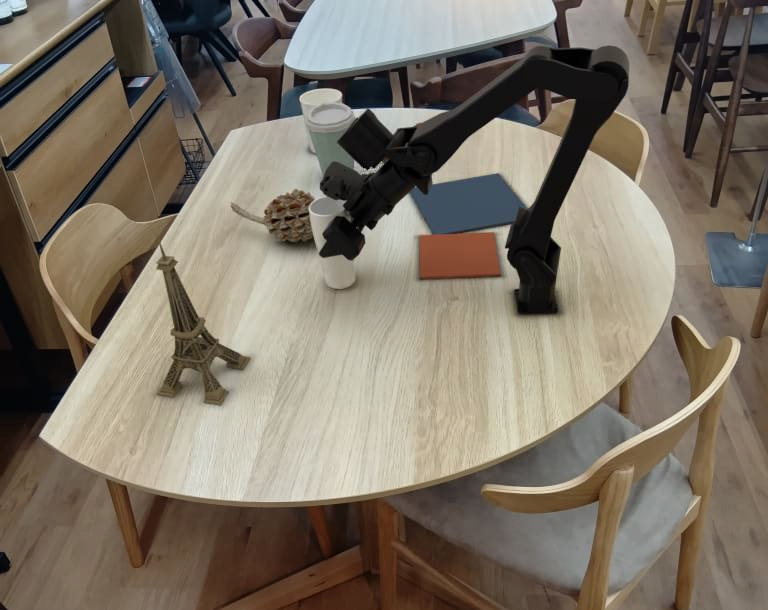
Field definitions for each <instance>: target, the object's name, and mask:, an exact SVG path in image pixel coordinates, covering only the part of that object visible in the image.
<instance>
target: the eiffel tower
mask: <svg viewBox="0 0 768 610" xmlns="http://www.w3.org/2000/svg"><path fill="white" fill-rule="evenodd" d="M155 235H156V238H157V241H158V245H159V249H160V253H161V256H160V258H159V259H158V260H157V261H155V264H157V266H156V268H155V270H158V271H162V274H163V279H164V284H165V289H166V293H167V299H168V303H169V309H170V314H171V320H172V324H173V328H171V329H170V336H172V337H174V351H173V354H171V356H170V358H171V359H172V360H173V361H172V363H171V365H170V367H169V369H168V371H167V374H166V376H165V377H164V380H163V382H162V385H161V387H160V388H159V389H158V391H157V392H156V395H157V396H161V397H167V398H174V397H176V395H177V394H178V393H179V391H180V389H181V388H182V387H183V384H182V381H180V379H181V377H182V374H183V372H184V371H185V369H192V370H193V371H196V372H198V373H201V376H202V383H203V387H204V394H205V396H204V399H203V403H205V404H209V405H210V404H211V405H217V406H221V405H222V404H223V403H224V401H225V399H226V398H227V397H228V395H229V393H230V391H229V390H226V388H224V387H223V386H222V384H221V383H220V382H219V380H218V379H217V377H216V376H215V375H214V374H213V372H212V371H211V367H212V364H213V361H214V360H215V358H219V359H221V360H222V361H224V362H226V364H225V366H226V368H227V369H233V370H240V371H243V370H244V369H246V366H247V365H248V363H249V362H250V360H251V357H250V356H248V355H247V356H245V355H242V354H241V353H239V352H238V351H235V350H234V349H231V348H229V346H226V345H224V344H221V343H219V342H220V338H215V337H214V336H213V335H212V334H211V333H210V332H209V330H208V329H207V327H206V326H205V323H206V322H207V321H206V319H205V317H204V316H199V315H198V313H197V311H196V308H195V307H194V304H193V302H192V300H191V299H190V296H189V295H188V293H187V290H186V289H185V287H184V284H183V282H182V280H181V278H180V276H179V273H178V272H177V270H176V268H175V267H176V266H177V264H178V263H179V261H178V260H176V259H175V258H176V257H175V256H171V255H166V253H165V250H164V247H163V246H162V243H161V241H160V239H159V236H158V232H157V231H155Z"/></svg>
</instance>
